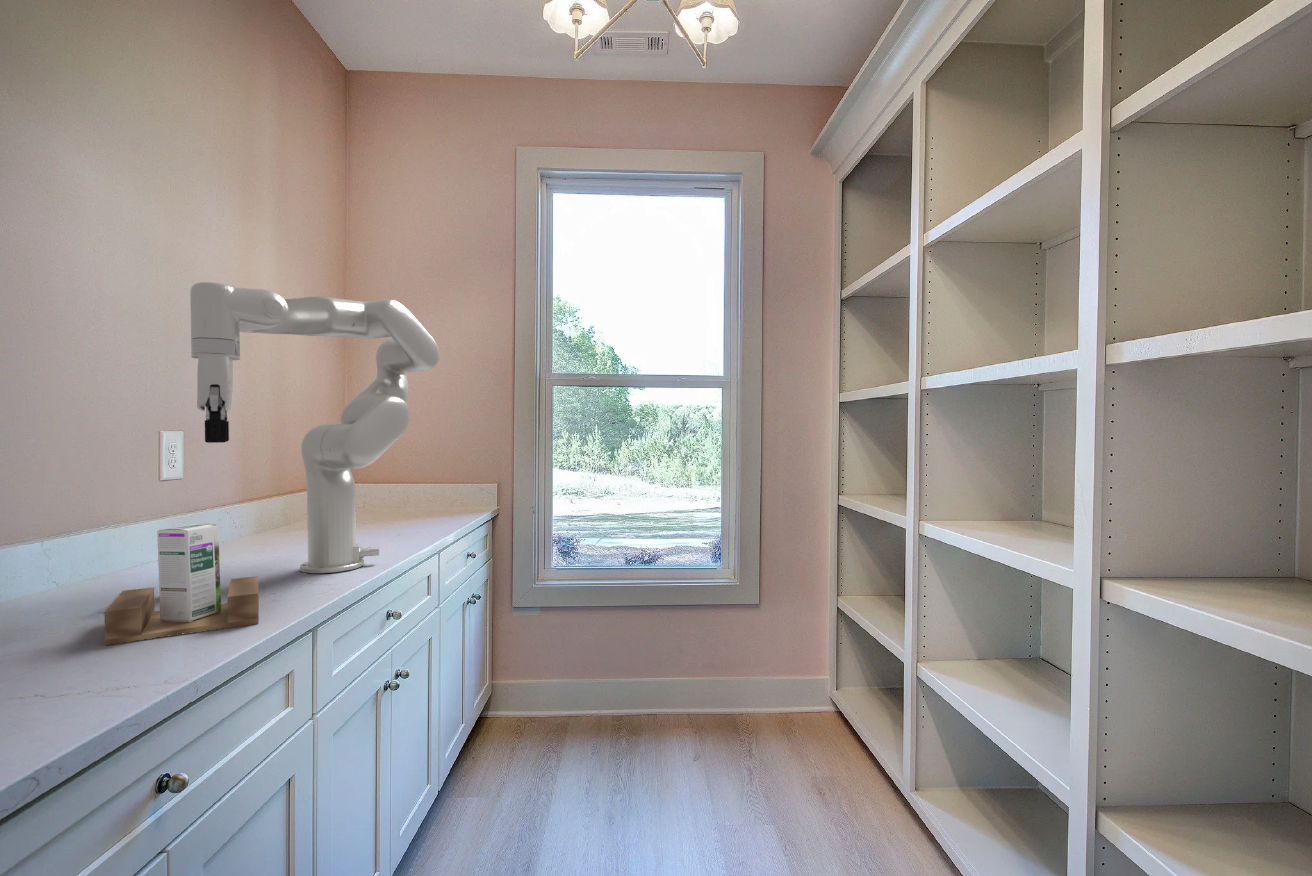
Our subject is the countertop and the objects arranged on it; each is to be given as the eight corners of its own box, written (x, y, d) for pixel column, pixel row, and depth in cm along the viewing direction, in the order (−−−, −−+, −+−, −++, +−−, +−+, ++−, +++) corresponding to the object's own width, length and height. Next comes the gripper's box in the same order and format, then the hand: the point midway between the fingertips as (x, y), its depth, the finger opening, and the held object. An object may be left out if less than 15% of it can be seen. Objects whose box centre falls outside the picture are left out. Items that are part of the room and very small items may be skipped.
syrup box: (189, 623, 98) (188, 529, 98) (158, 621, 99) (156, 528, 99) (221, 612, 104) (220, 523, 103) (191, 610, 105) (190, 522, 105)
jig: (258, 603, 112) (258, 576, 112) (258, 623, 100) (257, 593, 100) (123, 620, 102) (122, 590, 102) (105, 645, 90) (104, 611, 90)
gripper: (195, 354, 125) (196, 441, 125) (186, 344, 110) (188, 443, 110) (241, 356, 129) (242, 441, 129) (238, 346, 114) (240, 442, 114)
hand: (217, 442), depth 119 cm, fingers open, 9 cm apart
